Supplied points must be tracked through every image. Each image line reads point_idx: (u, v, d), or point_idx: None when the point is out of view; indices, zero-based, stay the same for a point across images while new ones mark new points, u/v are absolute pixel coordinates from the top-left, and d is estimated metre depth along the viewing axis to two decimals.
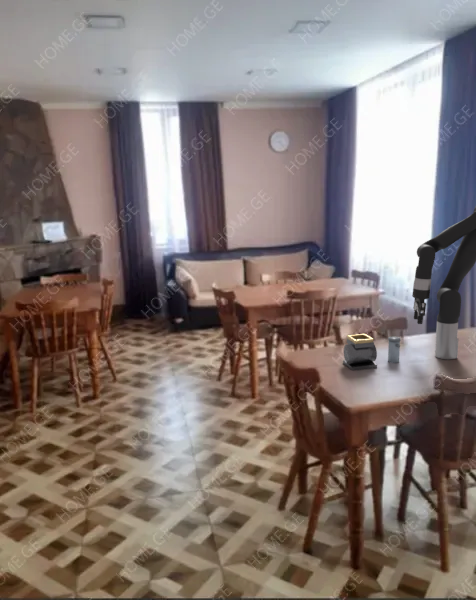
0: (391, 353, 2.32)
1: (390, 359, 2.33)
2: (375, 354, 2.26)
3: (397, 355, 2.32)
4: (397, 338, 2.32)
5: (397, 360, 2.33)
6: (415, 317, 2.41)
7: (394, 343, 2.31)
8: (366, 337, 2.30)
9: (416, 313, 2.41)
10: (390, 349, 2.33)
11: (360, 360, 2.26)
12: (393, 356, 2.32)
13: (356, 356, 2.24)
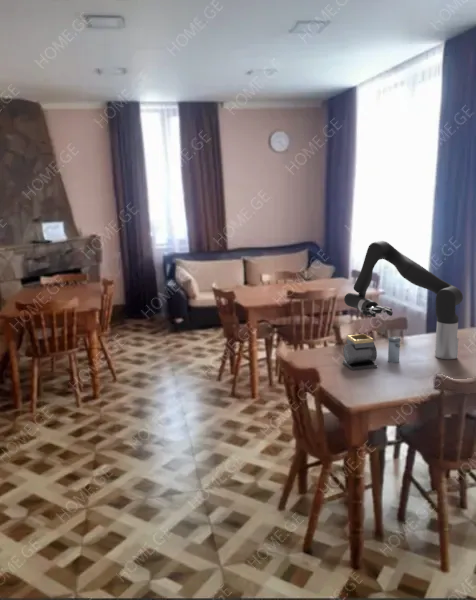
0: (391, 353, 2.32)
1: (390, 359, 2.33)
2: (375, 354, 2.26)
3: (397, 355, 2.32)
4: (397, 338, 2.32)
5: (397, 360, 2.33)
6: (389, 314, 2.43)
7: (394, 343, 2.31)
8: (366, 337, 2.30)
9: (387, 312, 2.45)
10: (390, 349, 2.33)
11: (360, 360, 2.26)
12: (393, 356, 2.32)
13: (356, 356, 2.24)
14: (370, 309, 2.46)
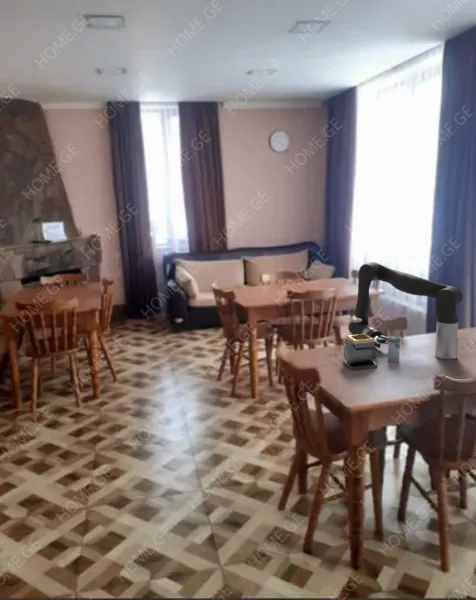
0: (391, 353, 2.32)
1: (390, 359, 2.33)
2: (375, 354, 2.26)
3: (397, 355, 2.32)
4: (397, 338, 2.32)
5: (397, 360, 2.33)
6: None
7: (394, 343, 2.31)
8: (366, 337, 2.30)
9: None
10: (390, 349, 2.33)
11: (360, 360, 2.26)
12: (393, 356, 2.32)
13: (356, 356, 2.24)
14: (375, 339, 2.44)
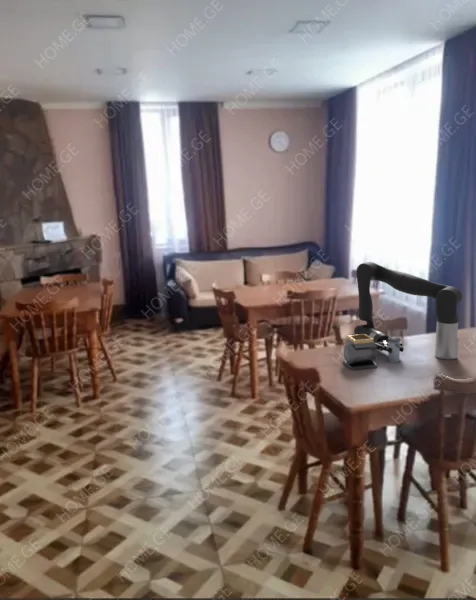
0: (391, 353, 2.32)
1: (390, 359, 2.33)
2: (375, 354, 2.26)
3: (397, 355, 2.32)
4: (397, 338, 2.32)
5: (397, 360, 2.33)
6: (400, 350, 2.33)
7: (394, 343, 2.31)
8: (366, 337, 2.30)
9: None
10: None
11: (360, 360, 2.26)
12: (393, 356, 2.32)
13: (356, 356, 2.24)
14: (385, 344, 2.36)
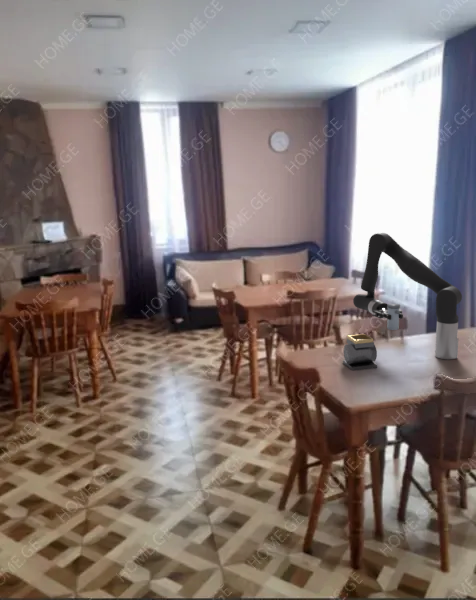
0: (391, 320, 2.29)
1: (389, 326, 2.30)
2: (375, 354, 2.26)
3: (396, 322, 2.29)
4: (396, 305, 2.29)
5: (396, 327, 2.29)
6: (400, 317, 2.29)
7: (393, 310, 2.27)
8: (366, 337, 2.30)
9: None
10: None
11: (360, 360, 2.26)
12: (392, 323, 2.29)
13: (356, 356, 2.24)
14: (384, 311, 2.33)
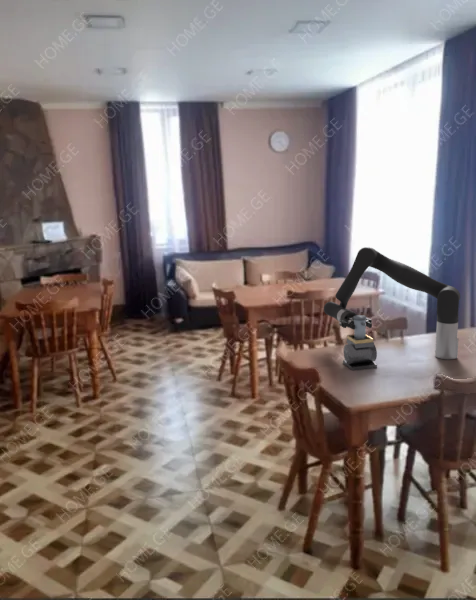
0: (357, 332, 2.26)
1: (356, 338, 2.27)
2: (375, 354, 2.26)
3: (363, 334, 2.25)
4: (363, 316, 2.26)
5: None
6: (369, 326, 2.26)
7: (359, 321, 2.24)
8: (366, 337, 2.30)
9: (367, 324, 2.28)
10: (356, 328, 2.26)
11: (360, 360, 2.26)
12: (359, 334, 2.25)
13: (356, 356, 2.24)
14: (349, 321, 2.29)
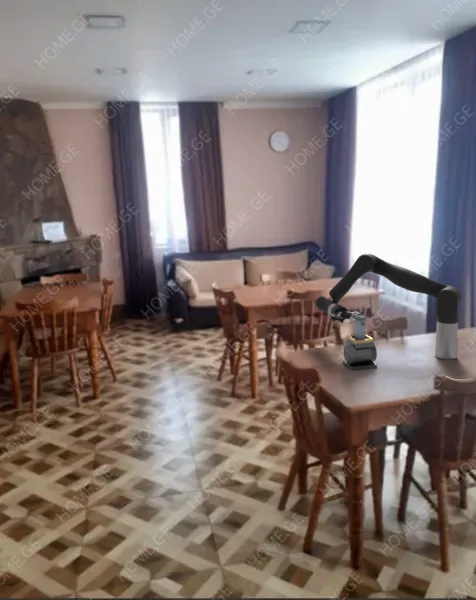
0: (357, 332, 2.26)
1: (356, 338, 2.27)
2: (375, 354, 2.26)
3: (363, 334, 2.25)
4: (363, 316, 2.26)
5: None
6: None
7: (359, 321, 2.24)
8: (366, 337, 2.30)
9: None
10: (356, 327, 2.26)
11: (360, 360, 2.26)
12: (359, 334, 2.25)
13: (356, 356, 2.24)
14: (338, 314, 2.41)
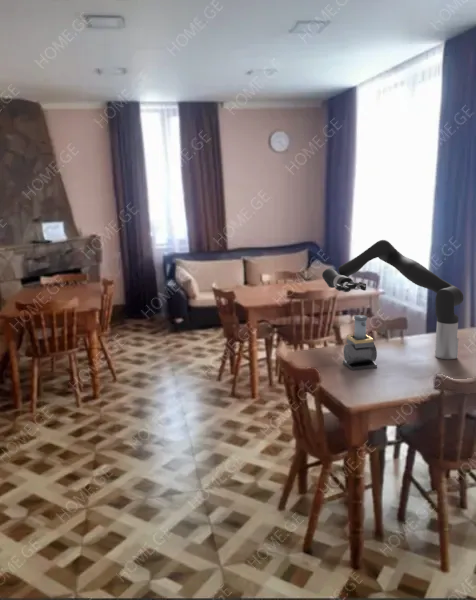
0: (357, 332, 2.25)
1: (356, 338, 2.27)
2: (375, 354, 2.26)
3: (363, 334, 2.25)
4: (363, 316, 2.25)
5: None
6: (363, 289, 2.43)
7: (360, 322, 2.24)
8: (366, 337, 2.30)
9: (361, 287, 2.45)
10: (356, 328, 2.26)
11: (360, 360, 2.26)
12: (359, 335, 2.25)
13: (356, 356, 2.24)
14: (344, 284, 2.46)
